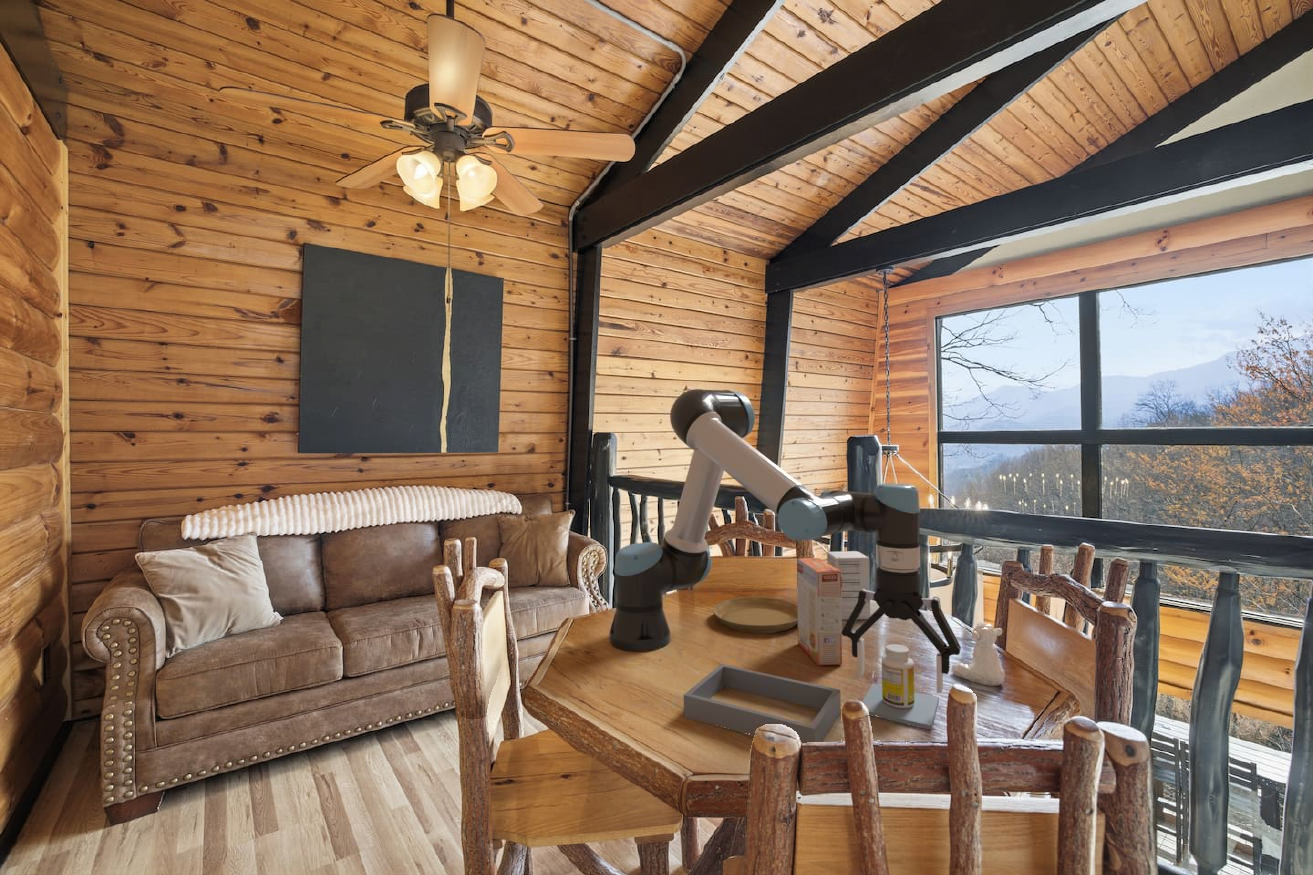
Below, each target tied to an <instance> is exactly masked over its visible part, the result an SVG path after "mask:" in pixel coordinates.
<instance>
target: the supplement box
mask: <svg viewBox="0 0 1313 875" xmlns="http://www.w3.org/2000/svg"><path fill="white" fill-rule="evenodd" d="M826 563H828V564H830V565H831V566H833V567H835V568H837V569H838V570H840V571H841V572H842V620H848V619H849V617H850V615H851V613H852V612H853V610H854V608H855V606H856V604H857V602H858V595H859V592H860V591H861V589H862V588H866V589H867V590H868V591H871V589H870V588H871V585H870V584H871V580H870V579H871V578H870V577H871V576H870V557H868V556H867V555H865V554H864V553H862V552H859V551H857V550H851V551H850V550H849V551H827V552H826ZM870 616H871V600H870V601H869V602H866V604H865V606H864V608H863V609H862V611H861V613H860V615H859V617H858V619H857V620H867V619H868V618H869V617H870Z"/></svg>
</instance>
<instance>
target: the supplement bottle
mask: <svg viewBox="0 0 1313 875" xmlns="http://www.w3.org/2000/svg"><path fill="white" fill-rule="evenodd" d="M881 686H882V698H883V701H884V702H885V703H886V704H888V705H890V706H892V707H895V708H910V707H912V706H913V705H914V702H915V698H914V692H915V663H914V660H913V659H912V658H911V657H910V649H909V648H908V647H907V646H906V645H902V644H895V643H894V644H892V643H891V644H887V645H886V646H885V655H883V656H882V657H881Z"/></svg>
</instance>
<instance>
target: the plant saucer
mask: <svg viewBox="0 0 1313 875" xmlns="http://www.w3.org/2000/svg"><path fill="white" fill-rule="evenodd" d="M712 610H713V611H712V612H713V614H714V616H715V618H716V619H717V620H718V621H719V622H720V623H721V624H723V626H725V627H727V628H729V629H732V630H735V631H738V632H742V633H749V634H774V633H781V632H785V631H787V630H790V629H792V628H793V627H795V626H796V625H798V604H796V603H794V602H791V601H788V600H784V599H781V598H780V599H779V598H774V597H765V596H764V597H763V596H745V597H736V598H731V599H728V600H723V601H722V602H719V603H718V604H716V605H715V606H714V607H713V609H712Z"/></svg>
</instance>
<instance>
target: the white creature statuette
mask: <svg viewBox="0 0 1313 875" xmlns="http://www.w3.org/2000/svg"><path fill="white" fill-rule="evenodd" d="M1002 634H1003V629H1002V628H1001V627H996V628H995V627H994V626H993V625H992V624H991V623H988V622H978V623H977V624H976V626H975V628H973V629H972V633H971V636H970V638H971V639H972V640H973V641H974V643H975V644H974V647H973V649H972V652H971V655H972V658H971V662H970V665H969V664H967V663H962V662H959V663H954V664H952V666H951V673H952V674H954V676H957V677H958V678H963V679H965V680H967V681H971V682H973V683H977V684H979V685H981V686H982V685H983V686H987V687H997V686H1000V685H1001V684H1003V683H1004V681H1005V677H1006V676H1005V675H1006V674H1005V673H1006V672H1005V670H1004V668H1003V666H1002V665H1003V664H1002V663H1001V661H1000V655H999V651H998V650H997V648H996V647H995V646H994V644H995V643H996V641H997V638H998V637H999V636H1001V635H1002Z"/></svg>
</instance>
